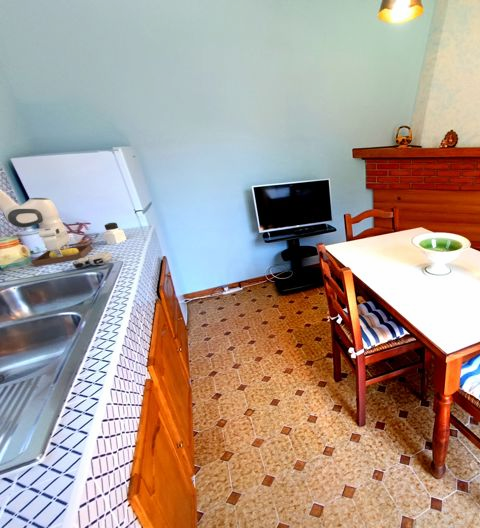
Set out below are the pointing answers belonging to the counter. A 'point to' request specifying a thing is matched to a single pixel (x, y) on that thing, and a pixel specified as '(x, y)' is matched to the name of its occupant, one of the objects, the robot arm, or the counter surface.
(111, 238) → the medicine bottle
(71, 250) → the corn cob
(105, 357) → the counter surface
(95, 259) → the robot toy
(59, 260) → the tray
